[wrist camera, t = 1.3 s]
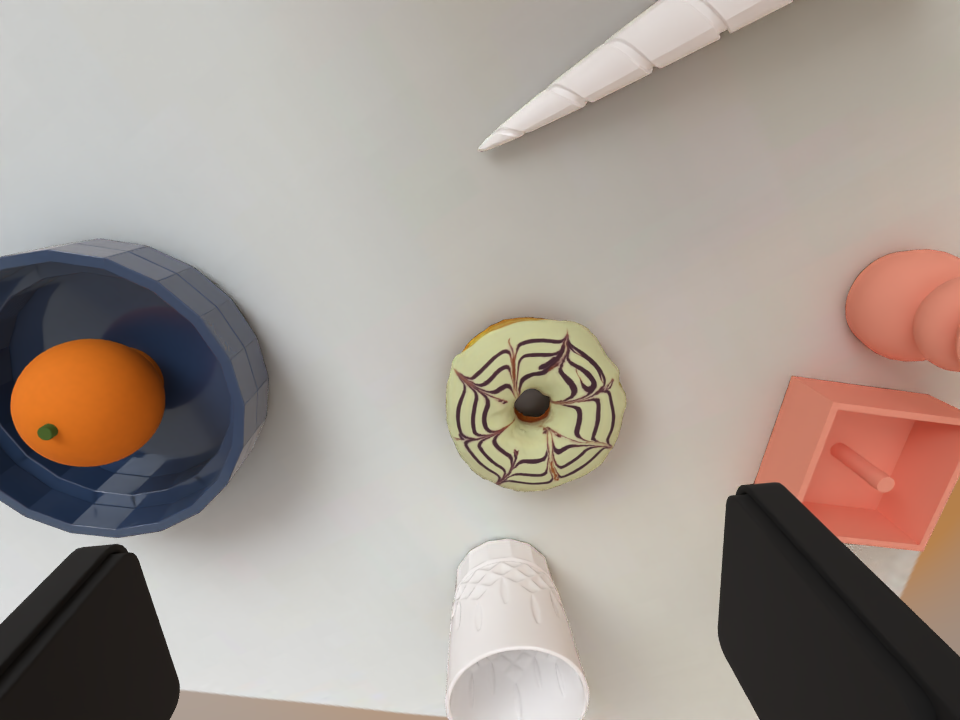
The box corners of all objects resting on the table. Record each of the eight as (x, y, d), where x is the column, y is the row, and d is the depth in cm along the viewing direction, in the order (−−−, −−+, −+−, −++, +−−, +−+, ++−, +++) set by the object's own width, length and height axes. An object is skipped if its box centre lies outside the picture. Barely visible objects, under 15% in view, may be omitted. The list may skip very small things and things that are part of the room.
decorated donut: (584, 284, 34) (600, 298, 30) (630, 436, 37) (650, 465, 34) (420, 344, 34) (417, 364, 31) (481, 488, 38) (484, 521, 34)
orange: (45, 378, 34) (-62, 435, 27) (112, 299, 32) (17, 336, 25) (144, 450, 35) (67, 520, 28) (211, 377, 34) (148, 432, 27)
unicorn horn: (444, 82, 30) (442, 68, 25) (883, -162, 27) (969, -227, 23) (484, 167, 31) (490, 168, 27) (904, -57, 29) (989, -98, 24)
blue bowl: (-63, 376, 34) (-142, 409, 29) (93, 175, 31) (30, 177, 26) (167, 534, 38) (128, 584, 34) (326, 373, 35) (306, 404, 30)
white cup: (455, 627, 42) (455, 763, 32) (440, 537, 39) (435, 657, 30) (561, 614, 42) (593, 746, 32) (553, 523, 39) (585, 638, 30)
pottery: (876, 513, 40) (1004, 618, 31) (749, 498, 39) (840, 602, 30) (987, 258, 34) (1186, 293, 25) (841, 234, 33) (990, 261, 24)
